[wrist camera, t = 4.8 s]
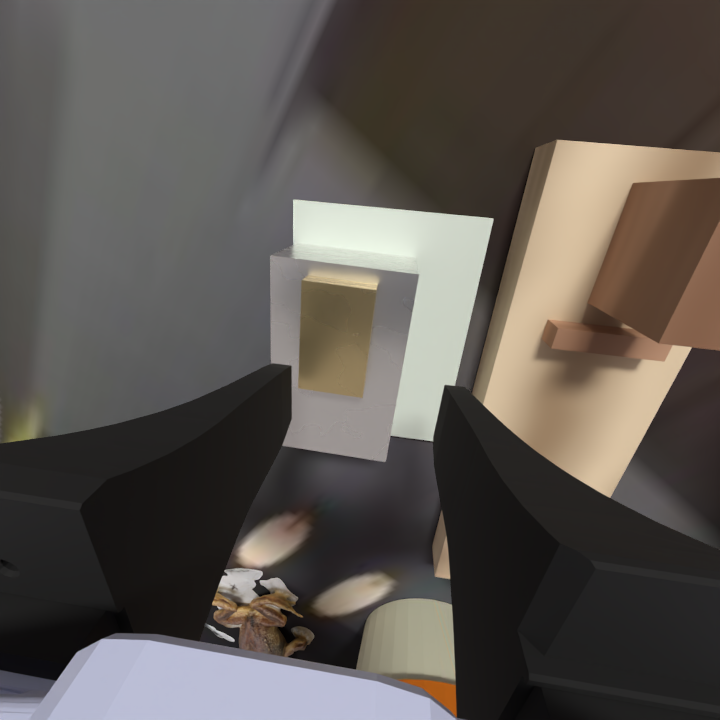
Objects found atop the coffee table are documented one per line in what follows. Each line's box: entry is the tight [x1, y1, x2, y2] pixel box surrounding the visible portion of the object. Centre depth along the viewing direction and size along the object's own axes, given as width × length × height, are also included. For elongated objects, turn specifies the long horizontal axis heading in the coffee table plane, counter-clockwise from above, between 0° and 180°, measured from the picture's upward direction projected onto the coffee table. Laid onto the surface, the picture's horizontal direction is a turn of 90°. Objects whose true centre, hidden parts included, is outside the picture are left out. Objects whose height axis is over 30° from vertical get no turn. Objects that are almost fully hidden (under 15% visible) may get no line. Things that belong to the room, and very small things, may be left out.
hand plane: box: [432, 140, 720, 579], centre depth 15 cm, size 7×22×6 cm, turn 175°
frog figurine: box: [205, 568, 314, 657], centre depth 27 cm, size 12×12×4 cm
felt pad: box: [293, 200, 493, 441], centre depth 16 cm, size 8×11×1 cm
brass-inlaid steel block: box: [270, 243, 419, 462], centre depth 14 cm, size 5×8×4 cm, turn 174°
